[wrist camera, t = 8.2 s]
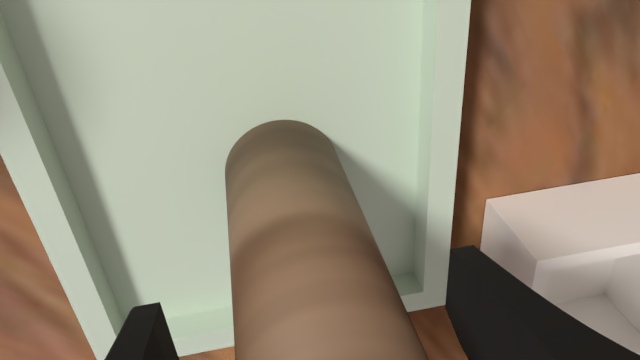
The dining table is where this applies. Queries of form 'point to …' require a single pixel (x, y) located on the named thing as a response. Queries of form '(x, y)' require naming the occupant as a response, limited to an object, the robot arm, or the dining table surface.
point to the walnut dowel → (306, 256)
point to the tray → (221, 138)
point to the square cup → (575, 250)
